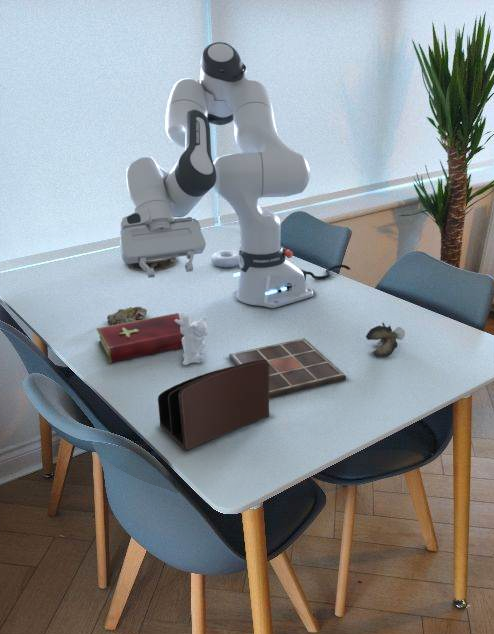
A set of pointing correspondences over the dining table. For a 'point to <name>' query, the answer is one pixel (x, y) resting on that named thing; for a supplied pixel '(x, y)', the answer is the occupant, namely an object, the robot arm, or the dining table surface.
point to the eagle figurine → (385, 339)
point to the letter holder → (215, 403)
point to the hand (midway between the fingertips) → (171, 273)
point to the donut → (226, 258)
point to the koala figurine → (192, 338)
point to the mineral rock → (127, 315)
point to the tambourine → (155, 264)
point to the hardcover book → (140, 338)
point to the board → (292, 366)
